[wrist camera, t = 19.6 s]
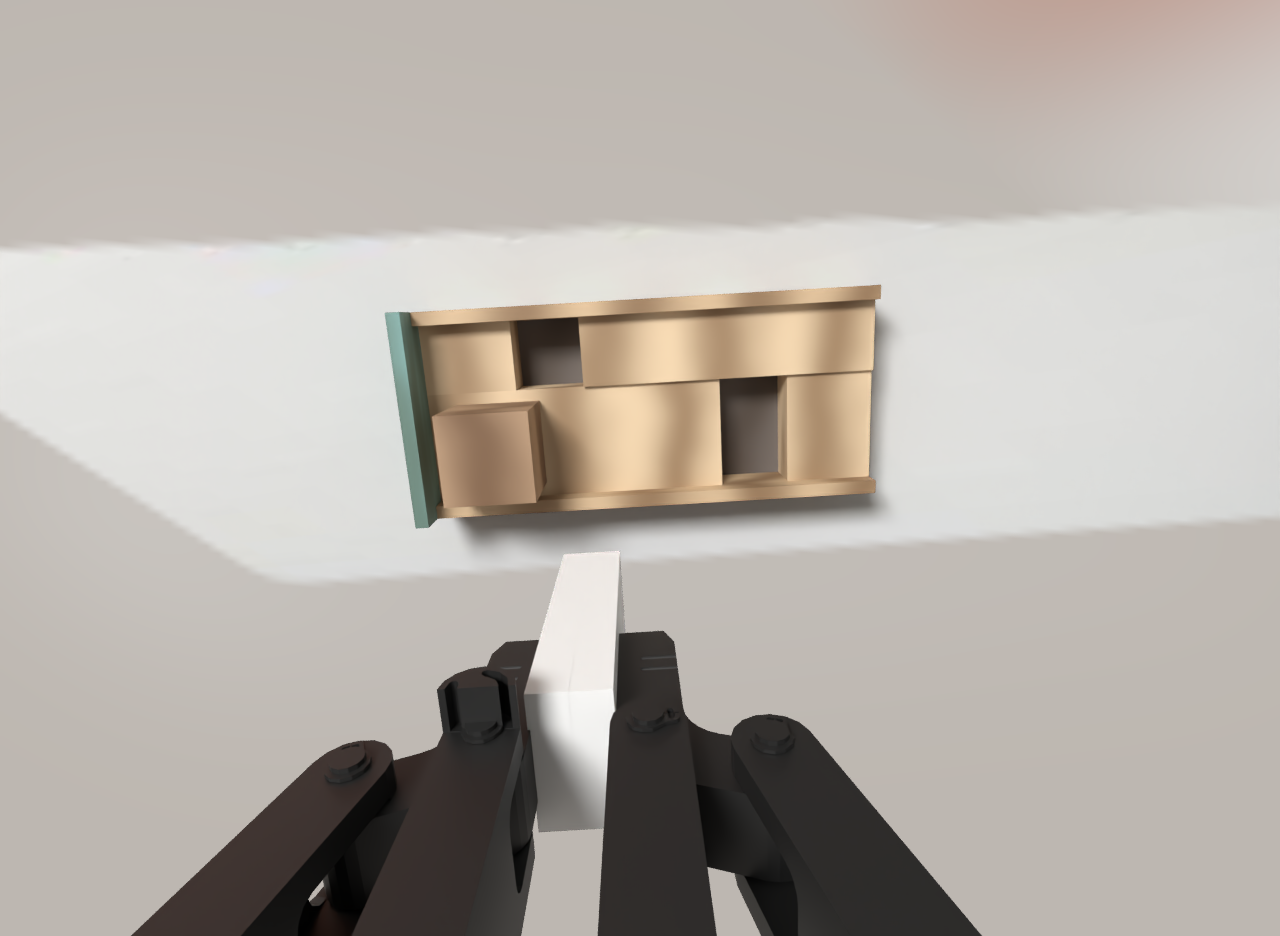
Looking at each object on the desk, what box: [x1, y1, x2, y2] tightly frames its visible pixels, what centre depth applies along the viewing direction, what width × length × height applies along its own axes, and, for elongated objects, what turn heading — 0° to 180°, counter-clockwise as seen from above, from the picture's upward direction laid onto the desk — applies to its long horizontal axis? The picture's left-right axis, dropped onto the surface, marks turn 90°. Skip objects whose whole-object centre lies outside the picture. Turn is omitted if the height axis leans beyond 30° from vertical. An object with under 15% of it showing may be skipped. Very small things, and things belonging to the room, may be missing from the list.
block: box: [432, 401, 547, 508], centre depth 36 cm, size 5×5×4 cm
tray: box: [385, 285, 881, 528], centre depth 38 cm, size 27×12×6 cm, turn 93°
